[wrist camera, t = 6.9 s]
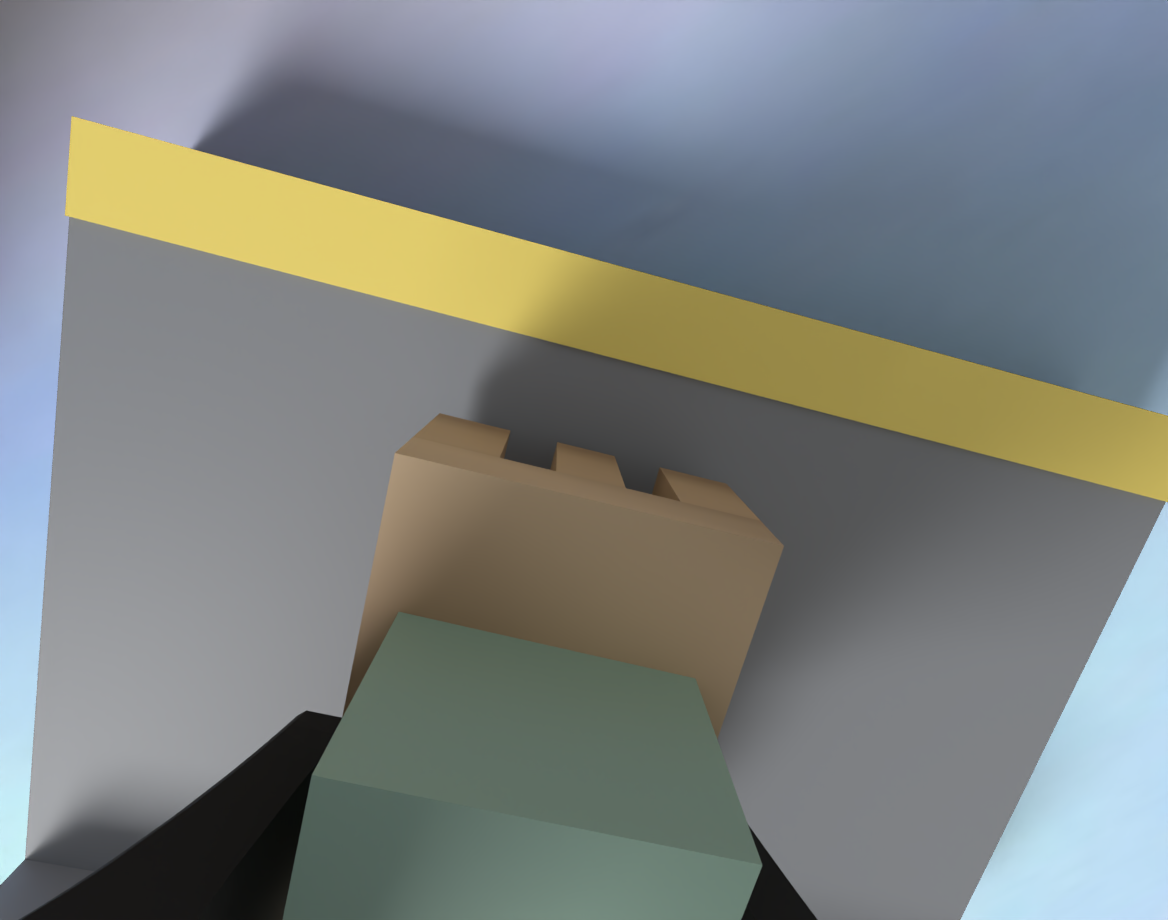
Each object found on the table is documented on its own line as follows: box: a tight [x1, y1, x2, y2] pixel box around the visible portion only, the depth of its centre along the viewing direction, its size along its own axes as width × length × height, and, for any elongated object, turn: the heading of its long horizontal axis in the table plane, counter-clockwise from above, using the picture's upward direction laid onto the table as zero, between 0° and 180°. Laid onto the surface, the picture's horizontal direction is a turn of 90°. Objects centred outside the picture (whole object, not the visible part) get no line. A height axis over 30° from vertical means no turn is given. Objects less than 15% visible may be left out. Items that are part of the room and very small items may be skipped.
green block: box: [283, 612, 762, 920], centre depth 8 cm, size 4×4×3 cm
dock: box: [0, 116, 1168, 920], centre depth 13 cm, size 16×20×5 cm
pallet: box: [342, 413, 784, 739], centre depth 11 cm, size 9×5×3 cm, turn 165°
